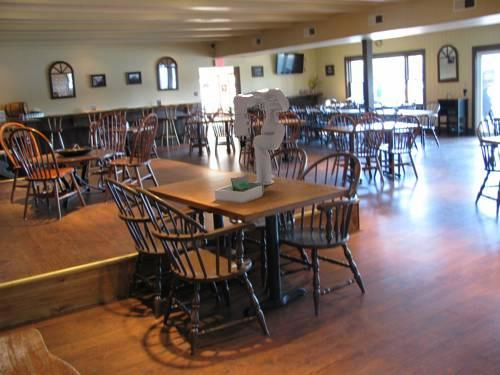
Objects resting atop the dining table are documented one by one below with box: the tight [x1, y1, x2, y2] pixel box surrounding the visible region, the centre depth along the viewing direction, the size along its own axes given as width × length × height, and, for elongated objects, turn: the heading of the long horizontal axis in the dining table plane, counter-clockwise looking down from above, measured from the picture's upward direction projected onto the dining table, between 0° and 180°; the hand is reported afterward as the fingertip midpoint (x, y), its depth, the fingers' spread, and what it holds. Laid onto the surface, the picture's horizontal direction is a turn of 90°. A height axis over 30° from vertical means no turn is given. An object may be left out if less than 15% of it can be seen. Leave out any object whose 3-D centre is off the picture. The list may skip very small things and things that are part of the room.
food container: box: [230, 174, 250, 192], centre depth 296 cm, size 12×6×10 cm, turn 133°
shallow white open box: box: [214, 184, 263, 204], centre depth 295 cm, size 19×20×6 cm
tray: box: [226, 181, 265, 195], centre depth 297 cm, size 18×20×6 cm
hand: (242, 147), depth 310 cm, fingers closed
